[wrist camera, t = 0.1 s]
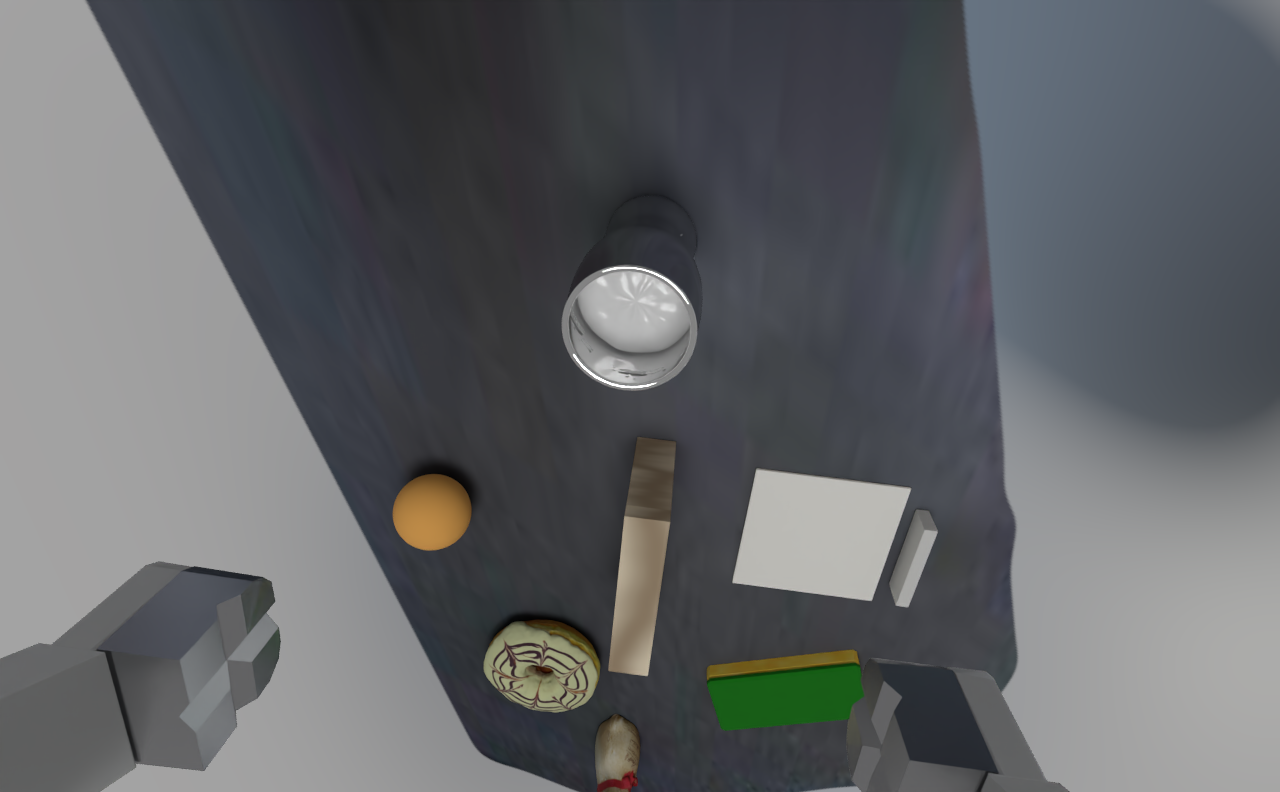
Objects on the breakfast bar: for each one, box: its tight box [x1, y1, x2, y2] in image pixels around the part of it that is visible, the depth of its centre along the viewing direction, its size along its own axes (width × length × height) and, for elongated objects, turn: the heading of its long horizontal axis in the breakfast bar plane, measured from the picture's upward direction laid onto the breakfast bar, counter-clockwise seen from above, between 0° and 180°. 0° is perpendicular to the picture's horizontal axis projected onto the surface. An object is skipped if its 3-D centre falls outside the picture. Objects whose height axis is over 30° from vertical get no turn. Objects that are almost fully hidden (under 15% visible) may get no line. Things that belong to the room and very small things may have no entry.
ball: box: [393, 474, 471, 550], centre depth 55 cm, size 6×6×6 cm
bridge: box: [608, 437, 676, 676], centre depth 53 cm, size 3×15×10 cm, turn 175°
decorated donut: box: [484, 619, 600, 712], centre depth 65 cm, size 10×11×4 cm
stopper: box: [889, 509, 938, 607], centre depth 56 cm, size 8×1×2 cm, turn 175°
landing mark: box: [732, 468, 911, 601], centre depth 57 cm, size 12×12×1 cm
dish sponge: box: [707, 650, 865, 731], centre depth 65 cm, size 7×14×2 cm, turn 105°
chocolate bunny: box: [595, 714, 640, 792], centre depth 68 cm, size 6×8×10 cm
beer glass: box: [562, 195, 703, 391], centre depth 40 cm, size 7×7×15 cm
